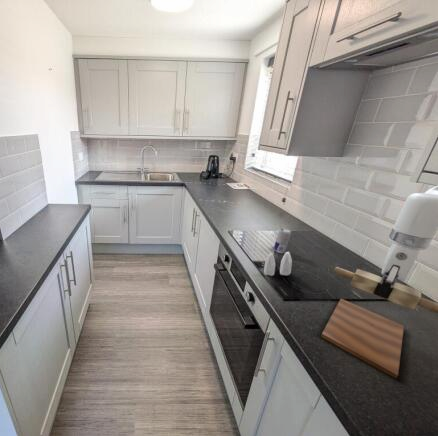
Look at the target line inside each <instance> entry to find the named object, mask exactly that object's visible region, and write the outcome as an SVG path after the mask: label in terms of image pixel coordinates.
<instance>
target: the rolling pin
mask: <svg viewBox="0 0 438 436" xmlns="http://www.w3.org/2000/svg"><path fill="white" fill-rule="evenodd" d="M332 273H333V274H335V275H338V276H340V277H342V278H345V279H348V280H351V281H350V283H349V286H351V287H354V288H357V289H359V290H361V291H364V292H367V293H369V294H371V295H374V296H376V297H379V298H381V299H384V300H387V301H389V302H392V303H394V304H397V305H398V306H402V307H404V308H407V309H409V310H412V311H415V309H416V307H417V306H419V307H421V308H424V309H426V310H430V311H432V312H434V313H436V314H438V302H435V301H432V300H429V299H427V298H424V297H422V290H419V289H416V288H415V287H411V286H408V285H406V284H402V283H399V282H397V281H396V282H395V284H394V286H393V287H394V288H393V290H392V292H391V294H390V296H389V298H388V299H385V298H383V297H380V296H378V295H375V294H374V293H373V292H374V290H375V288H376V286H377V284H378V282H380V281H381V279H382V277H380V276H381V275H377V274H374V273H372V272H368V271H366V270H362V269H360V268H357V269H356V271H355V272H352V271H350V270H348V269H345V268H342V267H339V266H335V268H334V270H333V272H332ZM385 279H386V278H385Z"/></svg>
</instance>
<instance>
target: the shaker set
mask: <svg viewBox="0 0 438 436" xmlns="http://www.w3.org/2000/svg"><path fill="white" fill-rule="evenodd" d="M263 267H264V268H263V274H264V276H270V277H272V276H275V272H276V260H275V257H274V254H273V253H269V254H268V255H267V257H266V259H265V262H264V266H263ZM292 267H293V259H292V255H291V252H290V251H286V252H285V253H284V254H283V256H282V258H281V260H280V266H279V275H280V276H285V277H287V276H290V275H291V273H292Z"/></svg>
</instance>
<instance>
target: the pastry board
mask: <svg viewBox="0 0 438 436" xmlns="http://www.w3.org/2000/svg"><path fill="white" fill-rule="evenodd" d="M404 331H405V326H404V325H402V324H401V323H398V322H396V321H394V320H391V319H389V318H386V317H385V316H382V315H380V314H378V313H375V312H373V311H371V310H368V309H367V308H364V307H361V306H359V305H357V304H354V303H352V302H350V301H347V300H345V299H343V298H340V299H339V301H338V303H337V304H336V307H335V309H333V312H332V314H331V316H330V317H329V319H328V322H327V323H326V325H325V327H324V329H323V331H322V333H321V335H320V337H321V338H322V339H324V340H325V341H328V342H329V343H330V344H333V345H335V346H336V347H338V348H340V349H341V350H344V351H345V352H347V353H349V354H351V355H353V357H356V358H358V359H359V360H362V361H363V362H365V363H367V364H369V365H371V366H372V367H374V368H376V369H378V370H379V371H381V372H383V373H384V374H387V375H388V376H390V377H391V378H394V379H397V378H398V376H399V370H400V364H401V363H400V362H401V356H402V355H401V353H402V347H403V338H404Z"/></svg>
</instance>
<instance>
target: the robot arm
mask: <svg viewBox="0 0 438 436" xmlns="http://www.w3.org/2000/svg"><path fill="white" fill-rule="evenodd" d="M437 232H438V185H436V186H433V187H431V188H430V189H428V190H426V191H425V192H414V193H411V194H409V195H408V196H407V198H406V200H405V202H404V204H403V205H402V208H401V210H400V212H399V214H398V216H397V219H396V220H395V223H394V225H393V227H392V229H391V231H390V233H389V235H388V237H387V239H388V241H389V242H391V245H390V246H389V248H388V251H387V254H386V255H385V258H384V261H383V264H382V267H381V275H379V276H380V277H382V279H381V281H380V282H378V284H377V286H376V288H375V290H374V292H373V293H374V294H375V295H374V294H373V295H374V296H376V295H378V296H377V297H379V296H380V297H379V298H381V297H383V298H382V299H384V298H385V299H384V300H386V299H388V298H389V296H390V294H391V292H392V290H393V288H394V287H393V286H394V284H395V282H397V280H398V281H400V282H401V283H403V282H406V280H407V278H408V276H409V274H410V272H411V270H412V268H413V266H414V265H415V262H416V260H417V258H418V256H419V254H420V251H426V250H428V248H429V246H430V244H431V242H432V240H433V239H434V237H435V236H436V233H437ZM385 278H386V279H385Z"/></svg>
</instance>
